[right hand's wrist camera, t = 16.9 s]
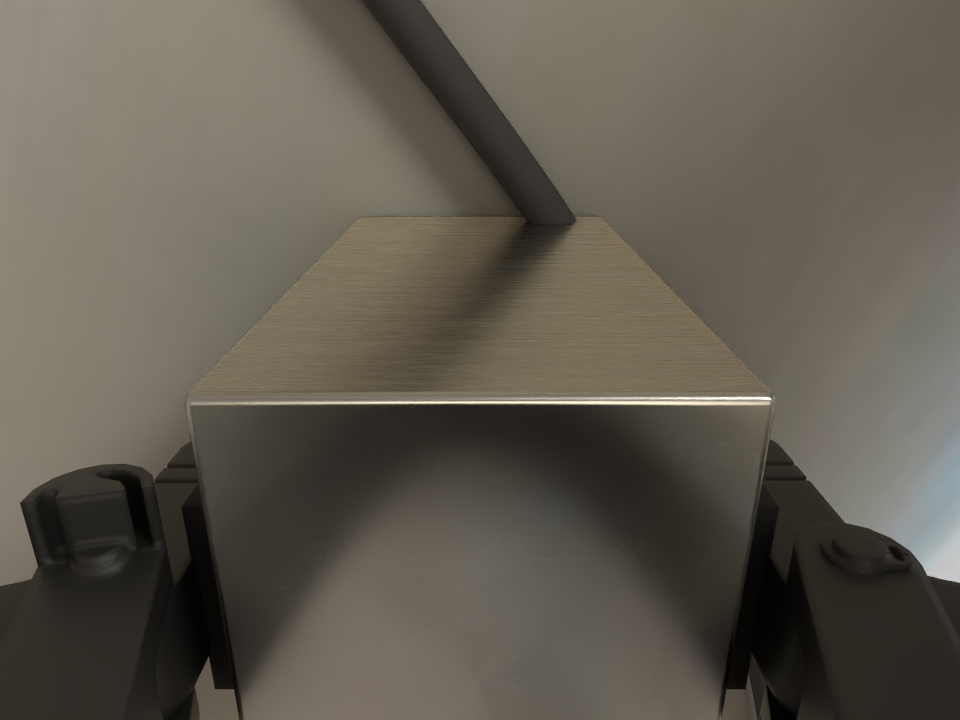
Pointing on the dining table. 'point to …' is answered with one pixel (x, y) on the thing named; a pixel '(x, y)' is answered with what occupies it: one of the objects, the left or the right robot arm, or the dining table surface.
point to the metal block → (480, 482)
